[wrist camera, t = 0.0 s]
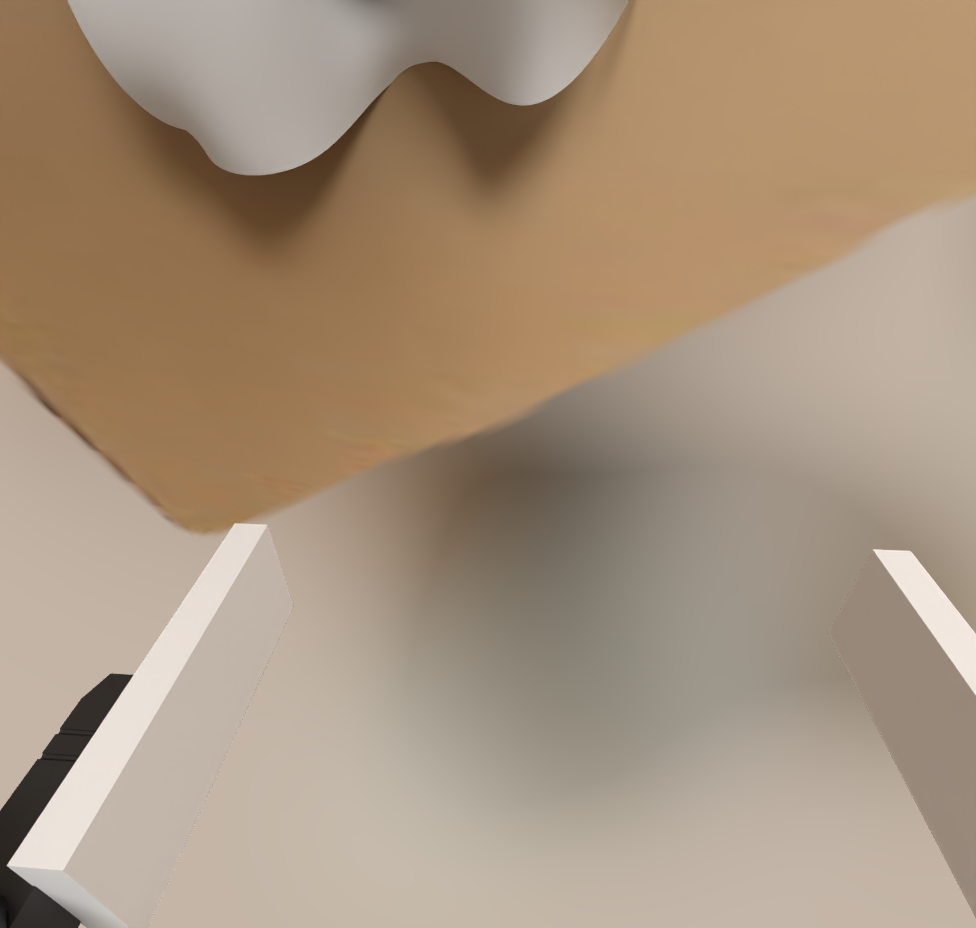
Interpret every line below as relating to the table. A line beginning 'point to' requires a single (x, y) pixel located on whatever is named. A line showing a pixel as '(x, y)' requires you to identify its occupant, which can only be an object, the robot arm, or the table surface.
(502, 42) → the sculpture
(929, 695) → the robot arm
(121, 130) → the table surface
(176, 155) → the table surface
